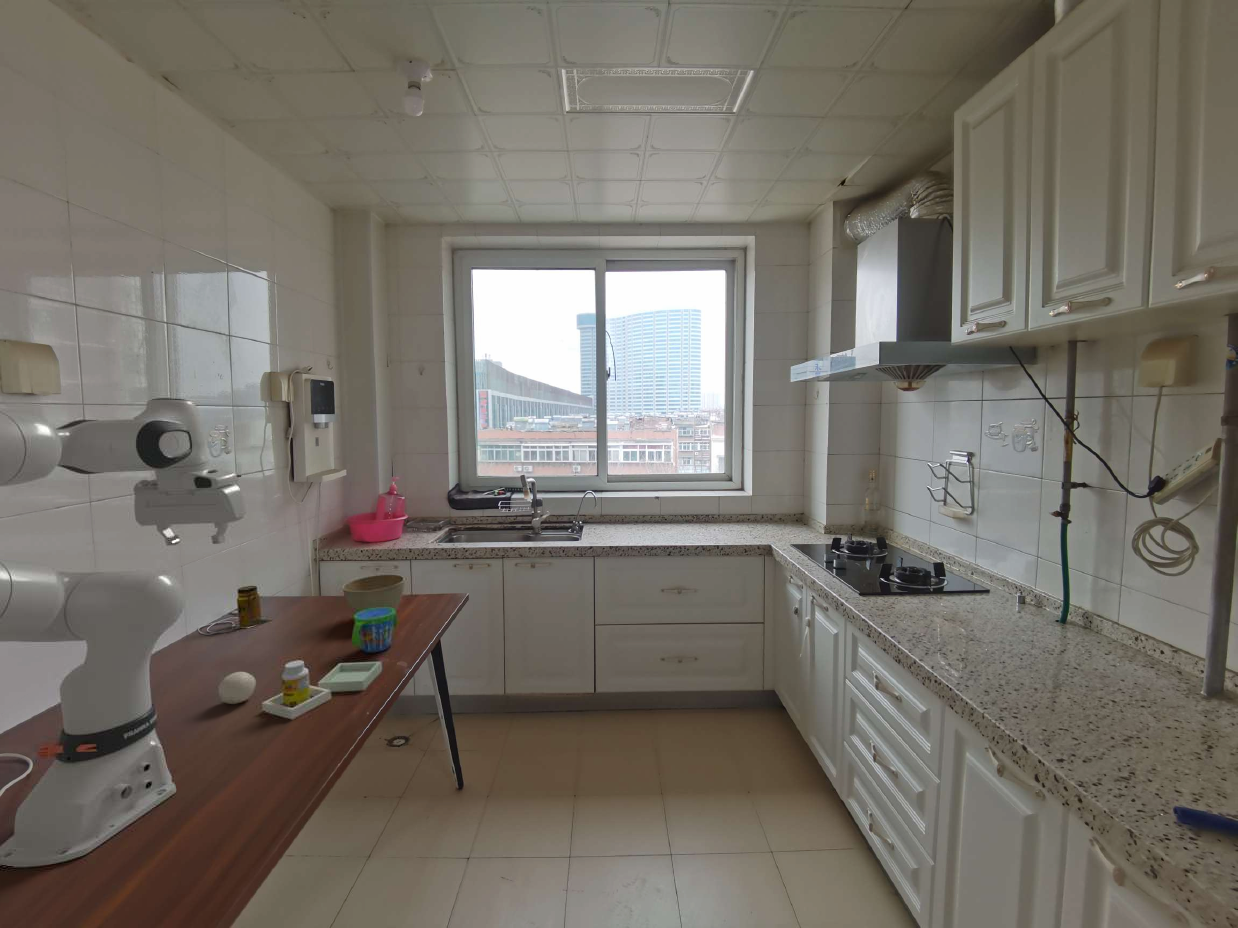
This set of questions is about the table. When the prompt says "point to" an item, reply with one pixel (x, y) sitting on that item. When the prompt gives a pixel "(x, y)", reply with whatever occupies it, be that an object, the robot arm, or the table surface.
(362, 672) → the tray
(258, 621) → the condiment
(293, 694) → the supplement bottle
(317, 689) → the holder
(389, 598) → the flower pot
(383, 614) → the snack cup
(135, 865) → the table surface
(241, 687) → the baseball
